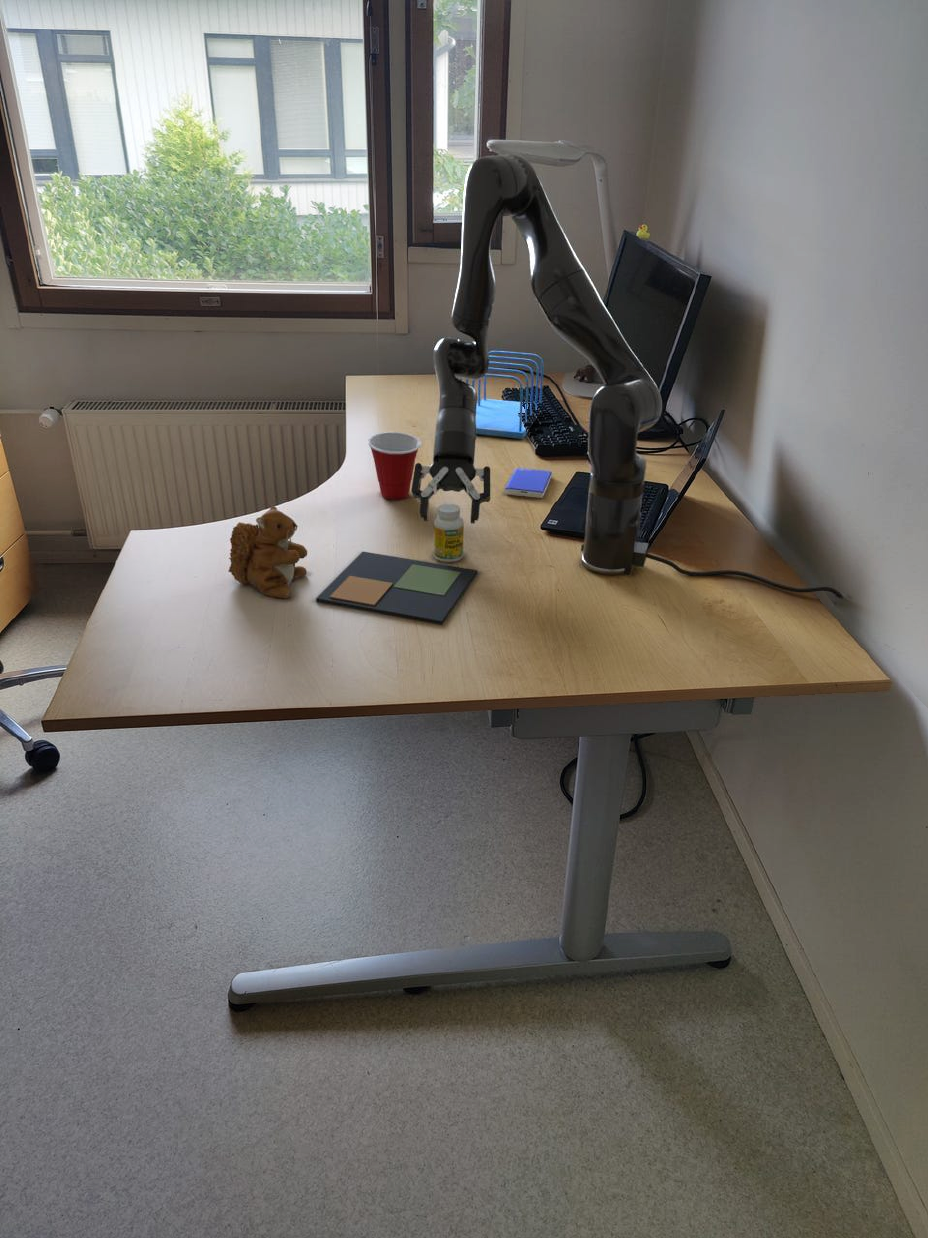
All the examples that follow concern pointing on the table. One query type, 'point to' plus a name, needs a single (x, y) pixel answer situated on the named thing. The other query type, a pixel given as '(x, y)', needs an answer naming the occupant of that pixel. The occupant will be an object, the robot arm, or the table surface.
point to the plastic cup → (394, 462)
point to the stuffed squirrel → (267, 554)
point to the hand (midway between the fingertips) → (449, 520)
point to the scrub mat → (399, 587)
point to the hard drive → (528, 482)
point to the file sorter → (506, 402)
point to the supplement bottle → (448, 533)
